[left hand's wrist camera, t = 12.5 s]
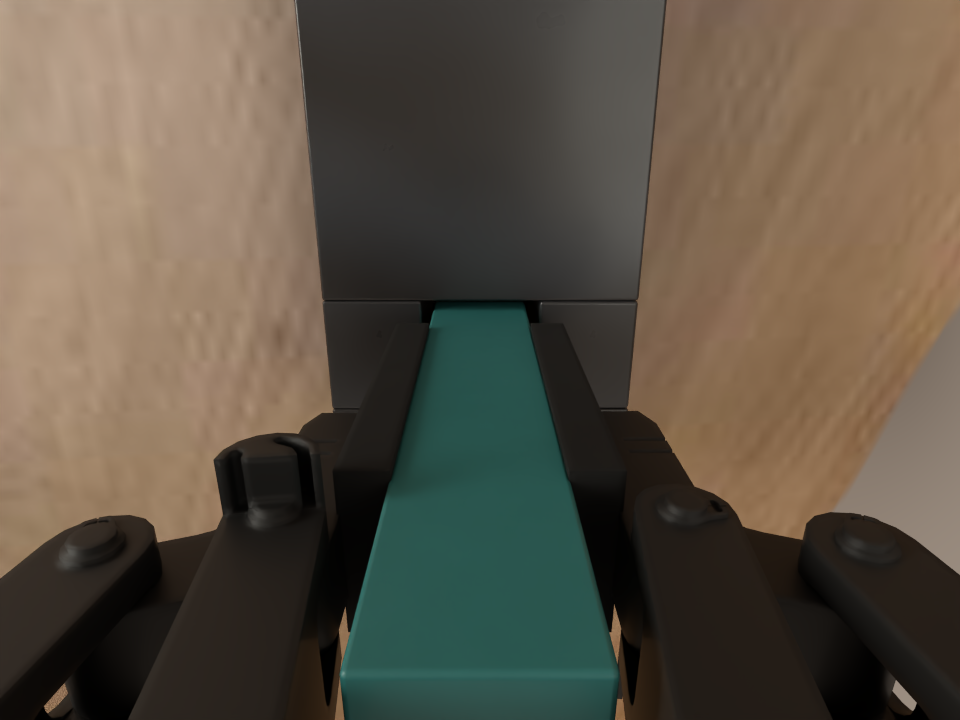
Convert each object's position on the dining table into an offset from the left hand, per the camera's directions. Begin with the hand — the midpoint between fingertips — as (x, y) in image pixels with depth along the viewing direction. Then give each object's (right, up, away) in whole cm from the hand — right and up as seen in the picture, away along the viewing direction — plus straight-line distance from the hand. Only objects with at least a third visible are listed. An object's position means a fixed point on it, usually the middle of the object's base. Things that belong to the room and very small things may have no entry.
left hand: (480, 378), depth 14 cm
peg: (0, +1, +2) cm, 3 cm away
